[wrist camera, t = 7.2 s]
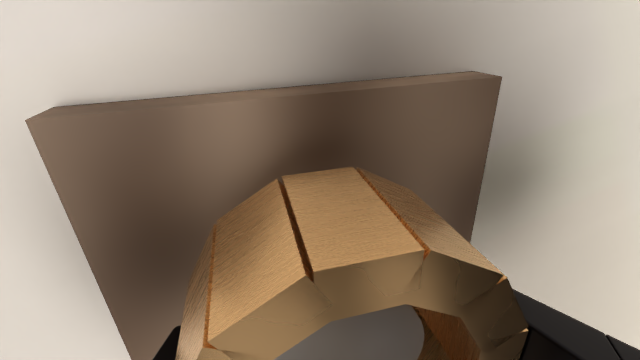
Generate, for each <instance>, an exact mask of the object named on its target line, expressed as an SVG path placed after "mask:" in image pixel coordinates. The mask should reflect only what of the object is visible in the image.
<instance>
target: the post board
mask: <svg viewBox="0 0 640 360" xmlns="http://www.w3.org/2000/svg"><path fill="white" fill-rule="evenodd" d="M501 80H502V77H501V76H496V75H490V74H485V73H480V72H474V71H471V72H459V73H447V74H436V75H424V76H412V77H401V78H389V79H377V80H366V81H354V82H342V83H331V84H319V85H307V86H296V87H284V88H272V89H261V90H249V91H237V92H226V93H214V94H202V95H191V96H179V97H167V98H156V99H144V100H132V101H121V102H109V103H97V104H86V105H74V106H62V107H53V108H51V109H49V110H46V111H44V112H42V113H40V114H38V115H35V116H33V117H31V118H29V119H27V120H25V121H26V124H27V126H28V128H29V130H30V132H31V135H32V137H33V139H34V141H35V144H36V146H37V148H38V150H39V153H40V155H41V157H42V159H43V162H44V164H45V166H46V168H47V171H48V173H49V175H50V177H51V180H52V182H53V184H54V186H55V189H56V191H57V193H58V195H59V198H60V200H61V202H62V204H63V207H64V209H65V211H66V213H67V216H68V218H69V220H70V222H71V225H72V227H73V229H74V231H75V234H76V236H77V238H78V240H79V243H80V245H81V247H82V249H83V252H84V254H85V256H86V258H87V261H88V263H89V265H90V267H91V270H92V272H93V274H94V276H95V279H96V281H97V283H98V285H99V288H100V290H101V292H102V294H103V297H104V299H105V301H106V303H107V306H108V308H109V310H110V312H111V315H112V317H113V319H114V321H115V324H116V326H117V328H118V330H119V333H120V335H121V337H122V339H123V342H124V344H125V346H126V348H127V351H128V353H129V355H130V357H131V360H152V359H153V358H154V356H155V355H156V353H157V352H158V350H159V349H160V347H161V346H162V344H163V343H164V342H165V340H166V339H167V337H168V336H169V334H170V333H171V331H172V330H173V329H174V328H175V327H176V326H180V325H181V324H182V318H183V312H184V306H185V300H186V295H187V289H188V283H189V279H190V277H191V274H192V272H193V270H194V268H195V265H196V263H197V261H198V259H199V256H200V254H201V252H202V250H203V247H204V245H205V243H206V241H207V238H208V236H209V234H210V232H211V229H212V227H213V225H214V224H216V225H217V220H218V219H219V218H221V217H222V216H224V215H225V214H227V213H228V212H229V211H231V210H232V209H234V208H235V207H237V206H238V205H239V204H241V203H242V202H244V201H245V200H247V199H248V198H249V197H251V196H252V195H254V194H255V193H257V192H258V191H259V190H261V189H262V188H264V187H265V186H267V185H268V184H269V183H271V182H272V181H274V180H275V179H278V180H279V181H280V182H281V184H282V185H283V182H282V176H287V175H295V174H302V173H309V172H317V171H324V170H331V169H339V168H346V167H354V169H355V170H356V169H357V167H358V168H361V169H363V170H365V171H368V172H370V173H372V174H375V175H377V176H379V177H382V178H384V179H387V180H389V181H391V182H394V183H396V184H398V185H401V186H403V187H405V188H408V189H410V190H412V191H413V192H414V193H415V194H416V195H417V196H418V197H419V198H420V199H422V200H423V201H424V202H425V203H426V204H427V205H428V206H429V207H430V208H431V209H433V210H434V211H435V212H436V213H437V214H438V215H439V216H440V217H441V218H442V219H443V220H445V221H446V222H447V223H448V224H449V225H450V226H451V227H452V228H453V229H454V230H455V231H457V232H458V233H459V234H460V235H461V236H462V237H463V238H464V239H465V240H466V241H468V242H469V243H470V240H471V235H472V230H473V225H474V220H475V215H476V209H477V204H478V199H479V194H480V189H481V183H482V178H483V173H484V168H485V163H486V158H487V152H488V147H489V142H490V137H491V132H492V126H493V121H494V116H495V111H496V106H497V100H498V95H499V90H500V85H501ZM423 343H424V328H423V325H422V322H421V320H420V318H419V317H418V315H417V313H416V312H415V310H414V309H413V307H412V306H411V305H407V304H404V305H400V306H396V307H391V308H387V309H383V310H379V311H374V312H370V313H366V314H361V315H357V316H353V317H348V318H344V319H340V320H335V321H331V322H329V323H328V324H326V325H325V326H323V327H322V328H320V329H319V330H317V331H316V332H314V333H313V334H311V335H310V336H308V337H307V338H305V339H304V340H302V341H301V342H299V343H298V344H296V345H295V346H293V347H292V348H290V349H289V350H287V351H286V352H284V353H283V354H281V355H280V356H278V357H277V358H275V359H274V360H417V359H418V357H419V355H420V353H421V350H422V347H423Z"/></svg>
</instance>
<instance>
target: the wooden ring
mask: <svg viewBox="0 0 640 360" xmlns="http://www.w3.org/2000/svg"><path fill="white" fill-rule="evenodd" d="M282 182H283V185H282V184H281V182H280V181H279V180H278V179H275V180H274V181H272V182H271V183H269V184H268V185H267V186H265V187H264V188H262V189H261V190H259V191H258V192H257V193H255V194H254V195H252V196H251V197H249V198H248V199H247V200H245V201H244V202H242V203H241V204H239V205H238V206H237V207H235V208H234V209H232V210H231V211H229V212H228V213H227V214H225V215H224V216H222V217H221V218H219V219H218V220H217V225H216V224H214V225H213V227H212V229H211V232H210V234H209V236H208V238H207V241H206V243H205V245H204V247H203V250H202V252H201V254H200V256H199V259H198V261H197V263H196V265H195V268H194V270H193V272H192V274H191V277H190V279H189V283H188V289H187V295H186V300H185V306H184V312H183V318H182V324H181V330H180V336H179V342H178V347H177V353H176V359H175V360H274V359H275V358H277V357H278V356H280V355H281V354H283V353H284V352H286V351H287V350H289V349H290V348H292V347H293V346H295V345H296V344H298V343H299V342H301V341H302V340H304V339H305V338H307V337H308V336H310V335H311V334H313V333H314V332H316V331H317V330H319V329H320V328H322V327H323V326H325V325H326V324H328V323H329V322H331V321H335V320H340V319H344V318H348V317H353V316H357V315H361V314H366V313H370V312H374V311H379V310H383V309H387V308H391V307H396V306H400V305H404V304H407V305H411V306H412V307H413V309H414V310H415V312H416V313H417V315H418V317H419V318H420V320H421V322H422V325H423V328H424V343H423V347H422V350H421V353H420V355H419V357H418V359H417V360H519V358H520V355H521V352H522V349H523V346H524V343H525V340H526V337H527V334H528V331H529V330H528V329H527V328H528V327H529V326H528V324H527V322H526V320H525V317H524V315H523V313H522V310H521V308H520V306H519V304H518V301H517V299H516V297H515V295H514V292H513V290H512V288H511V285H510V283H509V281H508V279H507V277H506V276H505V275H504V274H503V273H501V272H500V271H499V270H498V269H497V268H496V267H495V266H494V265H493V264H492V263H491V262H489V261H488V260H487V259H486V258H485V257H484V256H483V255H482V254H481V253H480V252H478V251H477V250H476V249H475V248H474V247H473V246H472V245H471V244H470V243H469V242H468V241H466V240H465V239H464V238H463V237H462V236H461V235H460V234H459V233H458V232H457V231H455V230H454V229H453V228H452V227H451V226H450V225H449V224H448V223H447V222H446V221H445V220H443V219H442V218H441V217H440V216H439V215H438V214H437V213H436V212H435V211H434V210H433V209H431V208H430V207H429V206H428V205H427V204H426V203H425V202H424V201H423V200H422V199H420V198H419V197H418V196H417V195H416V194H415V193H414V192H413V191H412V190H410V189H408V188H405V187H403V186H401V185H398V184H396V183H394V182H391V181H389V180H387V179H384V178H382V177H379V176H377V175H375V174H372V173H370V172H368V171H365V170H363V169H361V168H358V167H357V169H356V170H355V169H354V167H346V168H339V169H331V170H324V171H317V172H309V173H302V174H295V175H287V176H282Z"/></svg>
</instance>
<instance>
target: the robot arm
mask: <svg viewBox="0 0 640 360" xmlns="http://www.w3.org/2000/svg"><path fill="white" fill-rule="evenodd" d="M512 290H513V292H514V295H515V297H516V299H517V301H518V304H519V306H520V308H521V310H522V313H523V315H524V317H525V320H526V322H527V324H528V326H529V327H528V328H527V329H528V330H529V331H528V334H527V337H526V340H525V343H524V346H523V349H522V352H521V355H520V358H519V360H640V350H638V349H636V348H634V347H632V346H630V345H628V344H626V343H624V342H621V341H619V340H617V339H615V338H613V337H611V336H609V335H605V334H604V333H603V332H601V331H599V330H596V329H594V328H592V327H590V326H588V325H586V324H584V323H582V322H580V321H578V320H576V319H574V318H572V317H570V316H567V315H565V314H563V313H561V312H559V311H557V310H555V309H553V308H551V307H549V306H547V305H545V304H543V303H541V302H538V301H536V300H534V299H532V298H530V297H528V296H526V295H524V294H522V293H520V292H518V291H516V290H514V289H512ZM180 330H181V325H180V326H176V327H175V328H174V329H173V330H172V331H171V333H170V334H169V336H168V337H167V339H166V340H165V342H164V343H163V344H162V346H161V347H160V349H159V350H158V352H157V353H156V355H155V356H154V358H153V359H152V360H175V359H176V353H177V347H178V342H179V336H180Z"/></svg>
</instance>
